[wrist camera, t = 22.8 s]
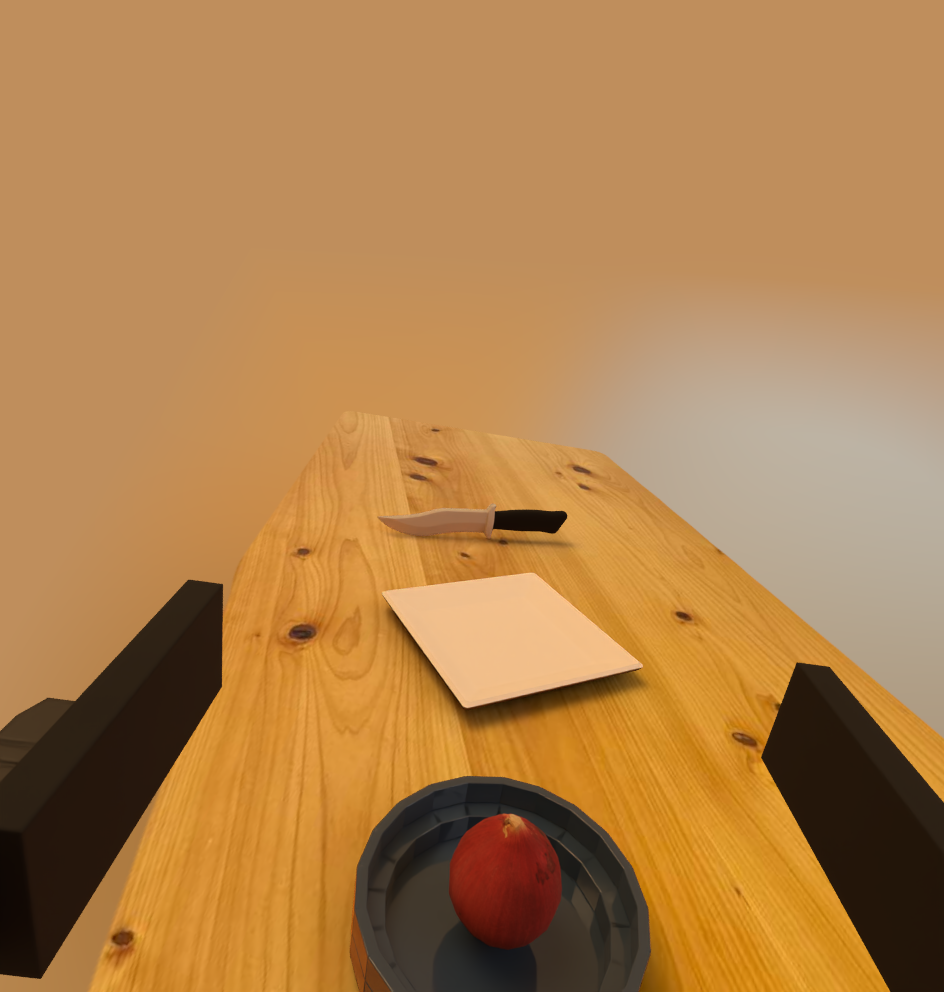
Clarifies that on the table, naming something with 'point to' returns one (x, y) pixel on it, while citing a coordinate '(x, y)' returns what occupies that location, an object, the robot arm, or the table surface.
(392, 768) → the table surface
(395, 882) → the bowl
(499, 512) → the knife
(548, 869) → the onion
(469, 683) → the plate
